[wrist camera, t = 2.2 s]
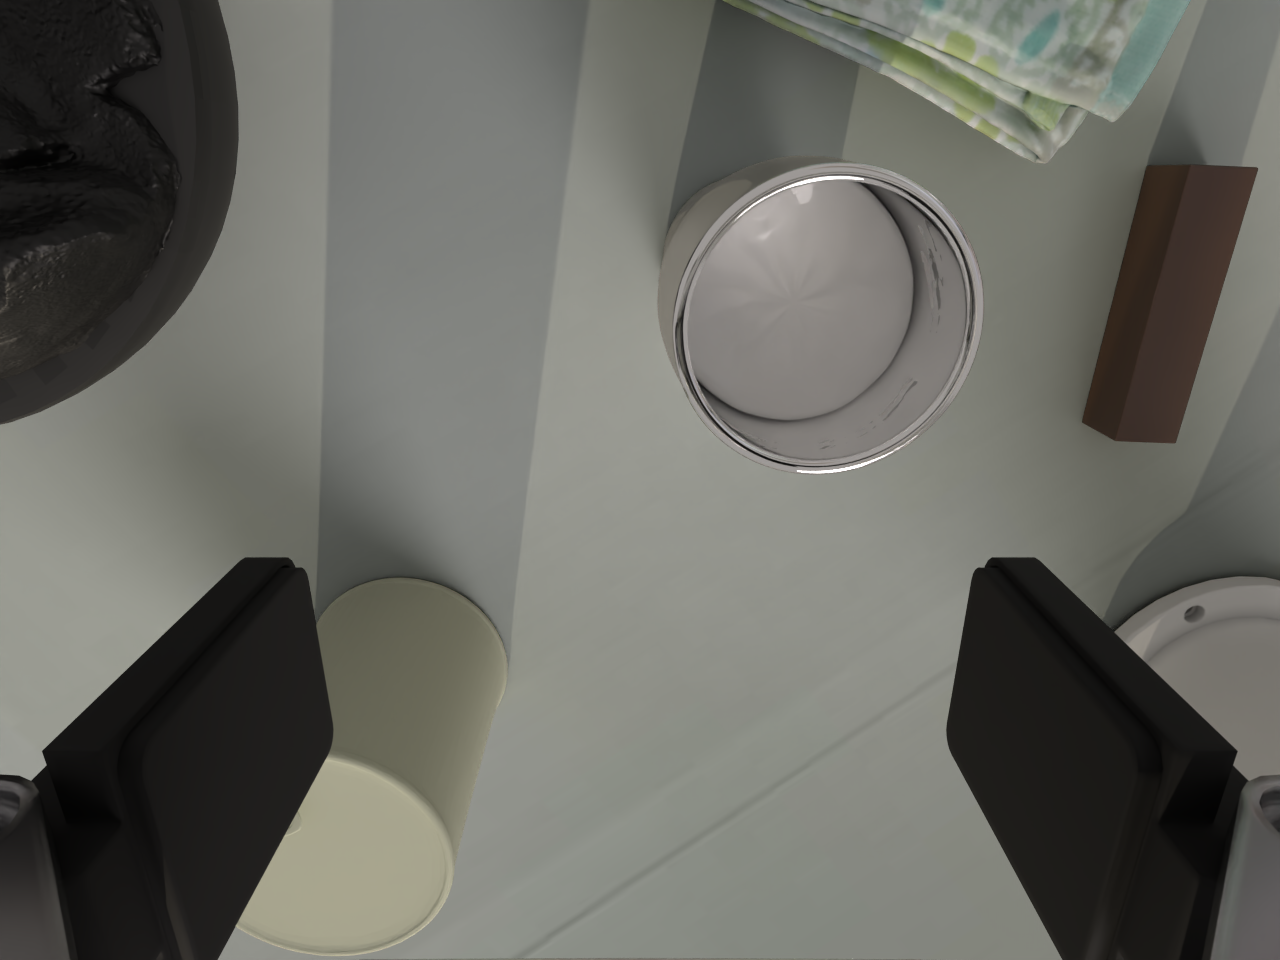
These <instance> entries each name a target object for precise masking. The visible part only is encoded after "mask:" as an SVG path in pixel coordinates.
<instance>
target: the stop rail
mask: <svg viewBox="0 0 1280 960" xmlns="http://www.w3.org/2000/svg"><path fill="white" fill-rule="evenodd" d="M1257 171H1258V168H1257V167H1237V166H1214V165H1191V164H1190V165H1149V166H1147V168H1146V172H1145V176H1144V180H1143V184H1142V187H1141V191H1140V195H1139V199H1138V203H1137V207H1136V211H1135V215H1134V219H1133V223H1132V227H1131V231H1130V235H1129V239H1128V243H1127V247H1126V251H1125V255H1124V258H1123V262H1122V266H1121V270H1120V274H1119V278H1118V282H1117V286H1116V290H1115V294H1114V298H1113V302H1112V306H1111V310H1110V314H1109V318H1108V322H1107V326H1106V330H1105V333H1104V337H1103V341H1102V345H1101V349H1100V353H1099V357H1098V361H1097V365H1096V369H1095V373H1094V377H1093V381H1092V385H1091V389H1090V393H1089V397H1088V401H1087V404H1086V408H1085V412H1084V416H1083V420H1082V423H1084V424H1086V425H1088V426H1089V427H1091V428H1093V429H1095V430H1097V431H1098V432H1100V433H1102V434H1104V435H1106V436H1107V437H1109V438H1111V439H1113V440H1115V441H1128V442H1154V443H1176V440H1177V437H1178V433H1179V430H1180V427H1181V423H1182V420H1183V417H1184V413H1185V410H1186V407H1187V403H1188V400H1189V397H1190V393H1191V390H1192V387H1193V383H1194V380H1195V377H1196V373H1197V370H1198V367H1199V363H1200V360H1201V357H1202V354H1203V350H1204V347H1205V344H1206V340H1207V337H1208V334H1209V330H1210V327H1211V324H1212V320H1213V317H1214V314H1215V310H1216V307H1217V304H1218V300H1219V297H1220V294H1221V290H1222V287H1223V284H1224V280H1225V277H1226V274H1227V271H1228V267H1229V264H1230V261H1231V257H1232V254H1233V251H1234V247H1235V244H1236V241H1237V237H1238V234H1239V231H1240V227H1241V224H1242V221H1243V217H1244V214H1245V211H1246V207H1247V204H1248V201H1249V197H1250V194H1251V191H1252V188H1253V184H1254V181H1255V178H1256V174H1257Z"/></svg>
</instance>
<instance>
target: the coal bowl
mask: <svg viewBox="0 0 1280 960" xmlns="http://www.w3.org/2000/svg"><path fill="white" fill-rule="evenodd" d="M237 152H238V101H237V91H236V81H235V72H234V66H233V61H232V56H231V50H230V45H229V40H228V35H227V32H226V28H225V24H224V21H223V17H222V13H221V10H220V6H219V3H218V0H0V424H5V423H9V422H13V421H15V420H18V419H21V418H24V417H27V416H30V415H33V414H35V413H38V412H41V411H43V410H45V409H47V408H49V407H51V406H53V405H55V404H57V403H59V402H61V401H63V400H65V399H67V398H69V397H71V396H73V395H75V394H77V393H79V392H81V391H83V390H84V389H86V388H88V387H89V386H91V385H92V384H94V383H95V382H97V381H98V380H100V379H102V378H103V377H105V376H106V375H108V374H109V373H111V372H112V371H114V370H115V369H116V368H118V367H119V366H120V365H122V364H123V363H124V362H125V361H127V360H128V359H129V358H130V357H131V356H133V355H134V354H135V353H136V352H137V351H139V350H140V349H141V348H142V347H143V346H145V345H146V344H147V343H148V342H149V341H150V340H151V338H152V337H153V336H154V335H155V334H156V333H157V332H158V331H159V330H160V329H161V328H162V327H163V326H164V325H165V323H166V322H167V321H168V320H169V319H170V318H171V317H172V316H173V315H174V314H175V312H176V311H177V310H178V308H179V307H180V306H181V304H182V303H183V302H184V300H185V299H186V297H187V296H188V295H189V293H190V292H191V291H192V289H193V287H194V285H195V284H196V282H197V280H198V278H199V277H200V275H201V273H202V271H203V269H204V268H205V266H206V264H207V262H208V260H209V259H210V257H211V255H212V253H213V250H214V248H215V245H216V243H217V241H218V238H219V236H220V233H221V231H222V228H223V225H224V221H225V218H226V215H227V211H228V208H229V205H230V201H231V195H232V190H233V184H234V179H235V174H236V164H237Z"/></svg>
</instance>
